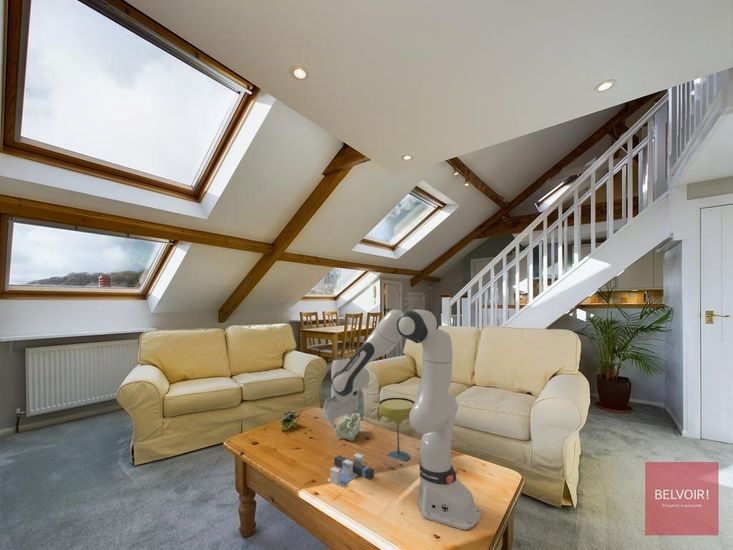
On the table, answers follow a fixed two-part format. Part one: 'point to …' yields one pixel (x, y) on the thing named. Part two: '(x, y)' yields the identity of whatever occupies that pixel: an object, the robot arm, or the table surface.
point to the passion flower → (289, 420)
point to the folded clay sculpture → (348, 427)
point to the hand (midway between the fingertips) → (341, 425)
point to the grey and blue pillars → (345, 471)
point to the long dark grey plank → (356, 468)
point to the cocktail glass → (396, 419)
